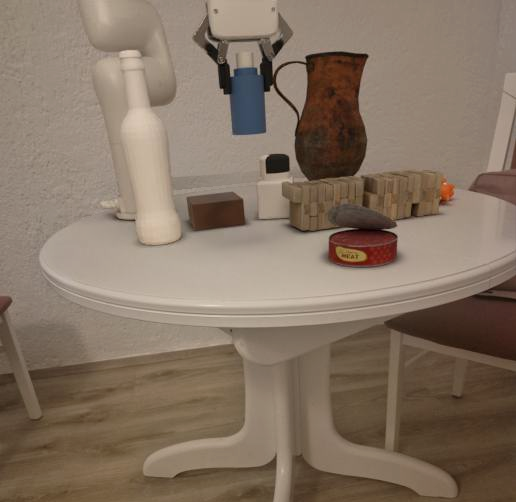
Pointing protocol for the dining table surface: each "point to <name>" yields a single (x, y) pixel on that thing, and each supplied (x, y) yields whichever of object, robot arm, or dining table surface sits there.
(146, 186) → the bottle
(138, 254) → the dining table surface
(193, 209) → the walnut block
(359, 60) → the pitcher
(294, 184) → the block tower
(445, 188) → the orange toy bird
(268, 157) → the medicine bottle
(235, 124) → the blue bottle
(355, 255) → the canned food
